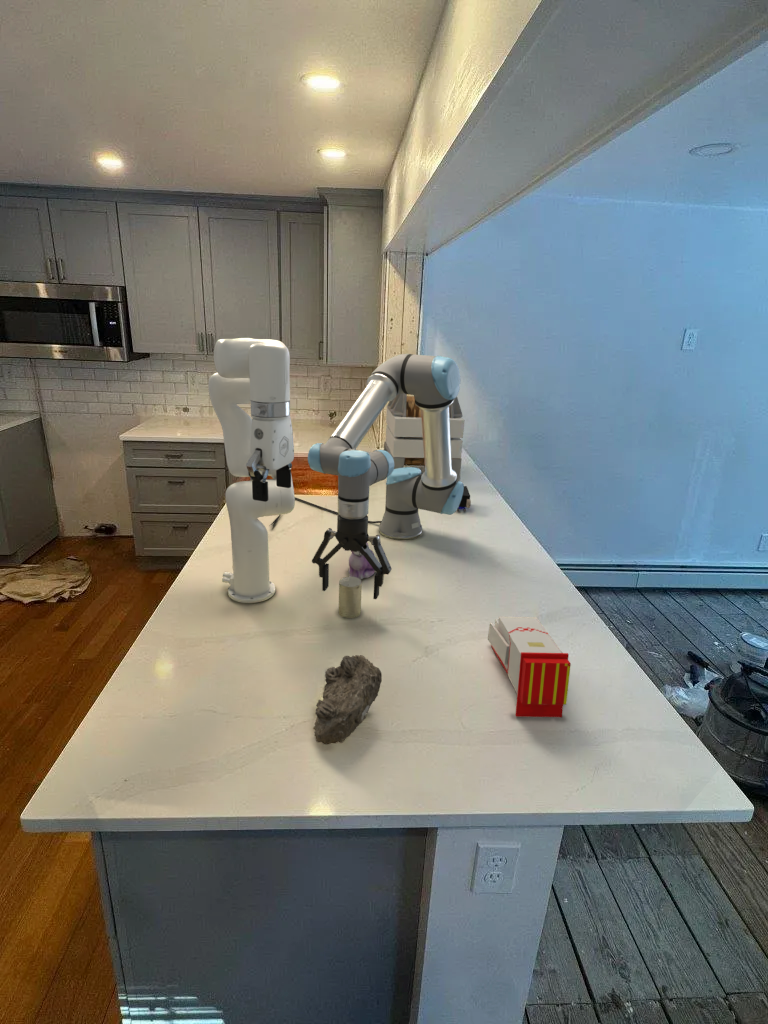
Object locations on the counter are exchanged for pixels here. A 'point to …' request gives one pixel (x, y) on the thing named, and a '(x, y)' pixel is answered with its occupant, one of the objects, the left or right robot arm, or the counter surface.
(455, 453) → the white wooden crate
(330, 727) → the fossil
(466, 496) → the figurine character
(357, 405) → the right robot arm
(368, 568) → the figurine
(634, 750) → the counter surface
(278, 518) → the feather
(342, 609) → the can
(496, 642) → the toy
